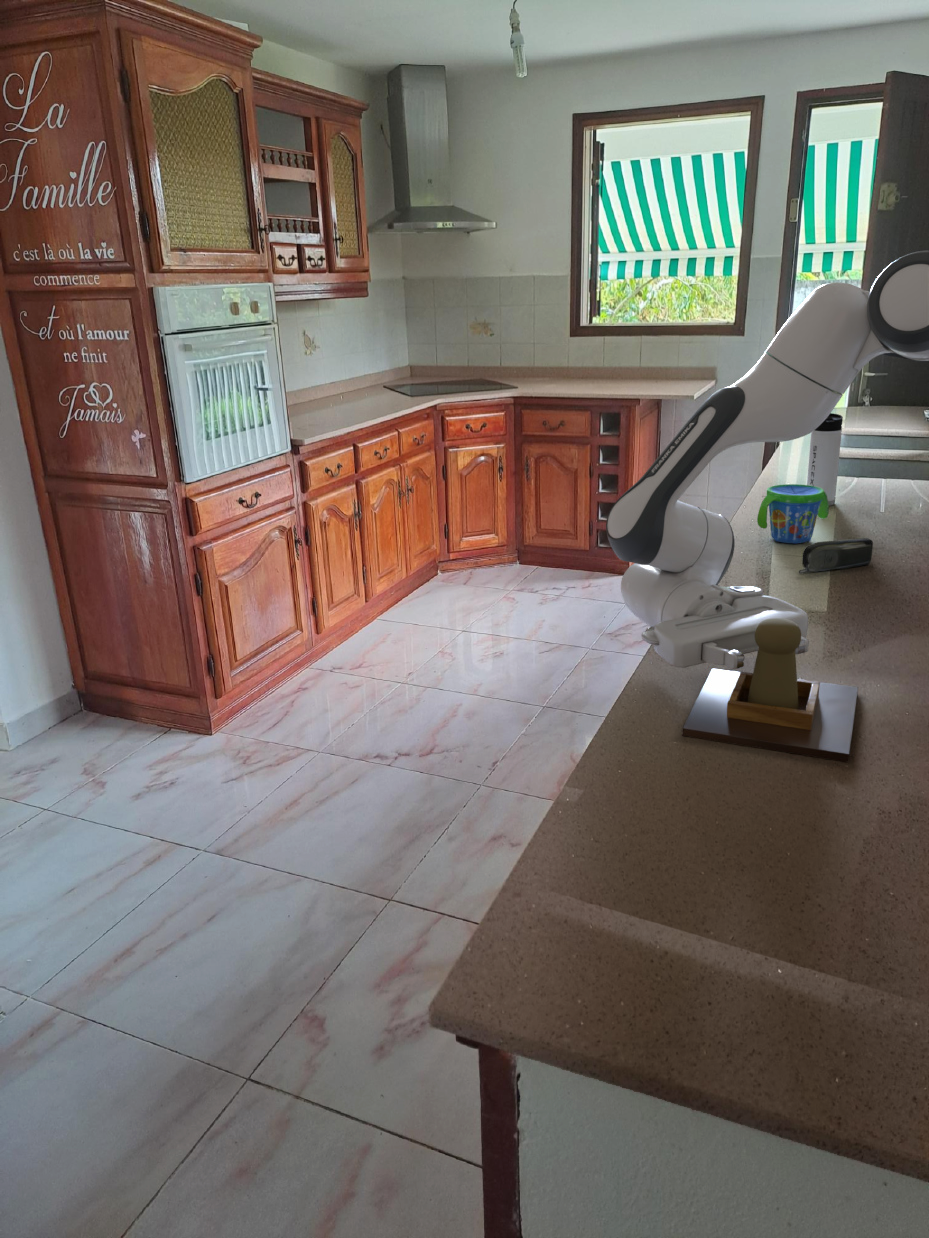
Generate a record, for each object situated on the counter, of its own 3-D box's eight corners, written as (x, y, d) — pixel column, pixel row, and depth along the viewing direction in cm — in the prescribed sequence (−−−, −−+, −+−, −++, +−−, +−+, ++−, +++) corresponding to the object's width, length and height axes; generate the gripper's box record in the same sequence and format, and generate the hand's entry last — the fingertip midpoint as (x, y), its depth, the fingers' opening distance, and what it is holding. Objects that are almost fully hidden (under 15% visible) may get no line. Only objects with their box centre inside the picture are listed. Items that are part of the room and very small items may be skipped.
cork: (793, 721, 103) (801, 634, 99) (741, 712, 106) (746, 627, 102) (803, 700, 108) (810, 616, 104) (752, 692, 110) (758, 610, 107)
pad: (711, 675, 118) (712, 654, 117) (857, 693, 111) (860, 672, 110) (682, 735, 103) (682, 712, 102) (848, 762, 96) (851, 738, 94)
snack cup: (809, 528, 181) (813, 480, 177) (842, 541, 171) (847, 490, 168) (741, 538, 178) (744, 488, 174) (771, 551, 168) (775, 499, 164)
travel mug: (831, 499, 202) (839, 411, 195) (837, 506, 196) (846, 415, 189) (802, 499, 204) (809, 412, 197) (808, 506, 198) (815, 416, 191)
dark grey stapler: (865, 535, 158) (794, 544, 154) (877, 539, 156) (805, 548, 152) (862, 561, 160) (791, 571, 156) (874, 566, 157) (802, 575, 153)
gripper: (635, 609, 113) (699, 646, 100) (766, 584, 119) (841, 615, 107) (634, 655, 115) (697, 696, 103) (762, 627, 121) (836, 663, 109)
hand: (771, 655), depth 105 cm, fingers open, 8 cm apart
